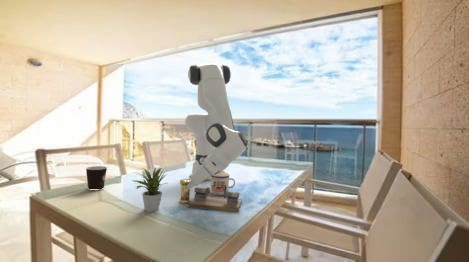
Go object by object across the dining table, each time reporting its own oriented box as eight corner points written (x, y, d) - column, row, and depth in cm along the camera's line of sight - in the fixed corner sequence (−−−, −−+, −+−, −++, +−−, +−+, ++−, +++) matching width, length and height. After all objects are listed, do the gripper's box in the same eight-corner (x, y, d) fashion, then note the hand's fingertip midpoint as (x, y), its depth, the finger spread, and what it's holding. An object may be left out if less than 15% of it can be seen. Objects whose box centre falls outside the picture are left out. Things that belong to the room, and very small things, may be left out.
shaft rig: (197, 198, 112) (197, 183, 112) (241, 202, 109) (242, 187, 109) (188, 207, 100) (188, 190, 100) (237, 212, 97) (238, 195, 97)
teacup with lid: (209, 195, 118) (210, 170, 117) (210, 189, 127) (211, 166, 126) (235, 196, 118) (236, 171, 118) (234, 190, 127) (235, 167, 127)
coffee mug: (95, 192, 113) (95, 170, 113) (80, 189, 116) (81, 168, 116) (115, 186, 124) (115, 166, 124) (101, 184, 127) (102, 164, 127)
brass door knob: (181, 199, 109) (182, 178, 109) (192, 200, 108) (193, 179, 108) (177, 202, 104) (178, 181, 104) (188, 203, 104) (189, 182, 103)
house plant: (141, 201, 104) (142, 162, 104) (174, 203, 104) (175, 163, 103) (125, 213, 90) (126, 168, 89) (163, 215, 90) (165, 170, 89)
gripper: (215, 154, 115) (194, 174, 116) (203, 161, 94) (177, 184, 96) (225, 165, 114) (203, 184, 116) (214, 173, 94) (188, 197, 96)
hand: (191, 184), depth 106 cm, fingers open, 8 cm apart
